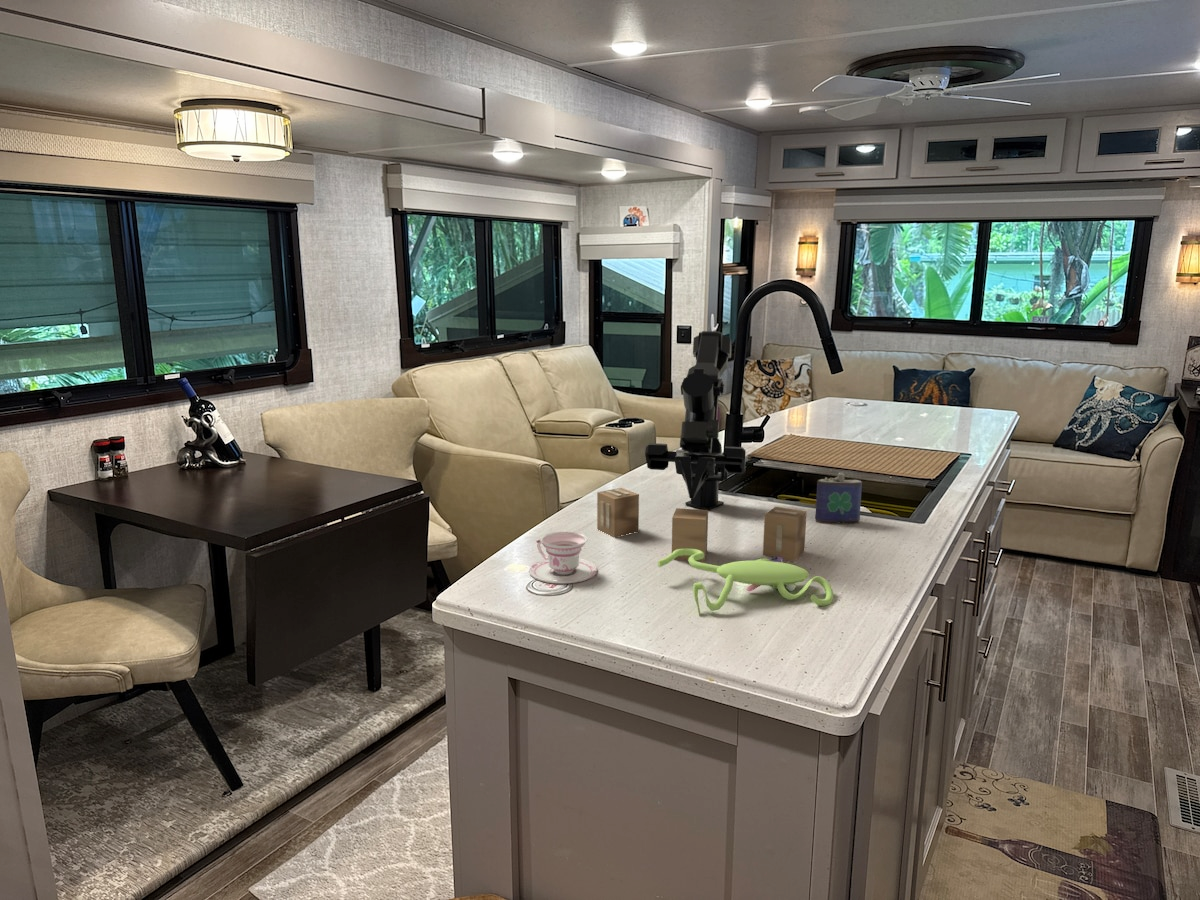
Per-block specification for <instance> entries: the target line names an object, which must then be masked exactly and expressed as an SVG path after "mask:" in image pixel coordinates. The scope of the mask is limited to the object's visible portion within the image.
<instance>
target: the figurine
mask: <svg viewBox="0 0 1200 900" xmlns="http://www.w3.org/2000/svg"><path fill="white" fill-rule="evenodd" d="M681 555H692V556H690V557H689V559H688V560H687V561H688V563H689V565H690V566H691V568H694V569H696V570H699V571H705V572H710V573H716V574H718V575H719V576H720V577H721V578H724V579H725V584H724V587H723V589H722V591H721V592H720V595H719V598H718V599H717V600H716V602H711V601H710V599H709V597H708V595H707V590H706V587H705V586H704V585H703V583H702V582H701V581H700V582H695V583H693V586H692V592H693V593H692V594H693V598H694V601H695V603H696V606H697V611H698V612H697V613H698V616H701V609H700V603H699V595H698V593H699V590H701V591H702V590H703V592H704V596H705V597H704V599H705V603H706V607H707V608H708V609H709V610H710V611H711V612H712V611H718V610H720V609H721V608H722V607H723V606H724V605H725V603H726V601H727V600H728V596H729V595H730V593H731V591H732V589H733V588H732V587H733V584H734V582H737V583H740V584H741V583H742V584H747V585H749V586H747V587H746V590H747V591H748V592H753V591H754V590H756V589H757V588H759V587H760V586H772V588H773V589H774V590H776V589H777V590H778V592H779V594H780V595H781V596H782V597H783V598H784V599H787V600H795V599H797V598H799V597H801V596H802V595H803V594H804V593H806V591H807V589H808V588H809V586H810V585H811V583H812V582H816V583H818V584H819V585H820V586H822V588H823V589H824V591H825V598H823V599H821V598H819V597H818V596H817V595H815V594H811V595H810V600H811V602H813V603H814V604H815V605H817V606H820V607H826V606H829V605H831V604H832V603H833V601H834V591H833V588H832V586H831V584H830V583H829V582H828V581H827V579H826V578H824V577H823V576H817V575H816V576H814V577H812V578H810V579H809V580H808V581H807V582H806V584H805V585H804V586H803V587H802V588H801V589H800V590H798V592H797V593H793V594H792V593H791V592H793V591H794V590H795V589H796V583H797V584H798V583H800V582H803V581H805V580H806V579H807V578H809V576H810V574H809V572H808V571H807V569H804V568H803V567H801V566H798V565H796V564H792V563H785V562H784V561H783V560H784V559H783V558H781V557H777V556H772V557H768V558H763V557H760V558H757V559H756V560H739V561H731V562H728V563H724V564H721V565H714V564H709V563H705V562H701V561H697V560H700V559H703V558H704V553H703V552H702V551H700V550H696V549H677V550H675V551H673V553H672V552H671V553H670V554H669V555H667V556H666V557H664V558H662V559H659V560H657V567H658V568H661V567H664V566H666V565H667V564H669V563H670V562H672V561H674V560H676V559H675V558H676V557H677V556H681Z"/></svg>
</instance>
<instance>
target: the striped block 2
mask: <svg viewBox="0 0 1200 900" xmlns="http://www.w3.org/2000/svg"><path fill="white" fill-rule="evenodd" d="M763 519H764V520H763V521H764V522H763V540H762V541H763V543H762V544H763V545H762V556H763V557H768V558H771V557H772V556H777V557H781V558H783V560H784V561H789V562H795V561H796V560H797V559H799V558H800V557H801V555H803V554H804V553H805V545H806V528H807V510H801V509H794V508H787V507H781V506H774V507H773V508H772V509H770V510H769V511H768V512H766V513H765V514H764V518H763Z"/></svg>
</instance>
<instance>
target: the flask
mask: <svg viewBox="0 0 1200 900" xmlns="http://www.w3.org/2000/svg"><path fill="white" fill-rule="evenodd" d="M845 476H846V474H845V473H844V472H838V475H837V476H835V477H834V478H833V477H830V478H828V477H824V478H821V479H818V480H817V481H816V483H817V484H816V500H815V501H816V502H815V515H814V516H815V517H814V519H815V520H814V521H815V523H818V524H819V523H820V524H833V525H834V524H838V525H839V524H845V525H847V524H853V525H854V524H859V522H860V519H861V518H860V517H861V503H862V501H861V500H862V491H863V490H862V486H863V481H861V480H859V479H846V478H845Z"/></svg>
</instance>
